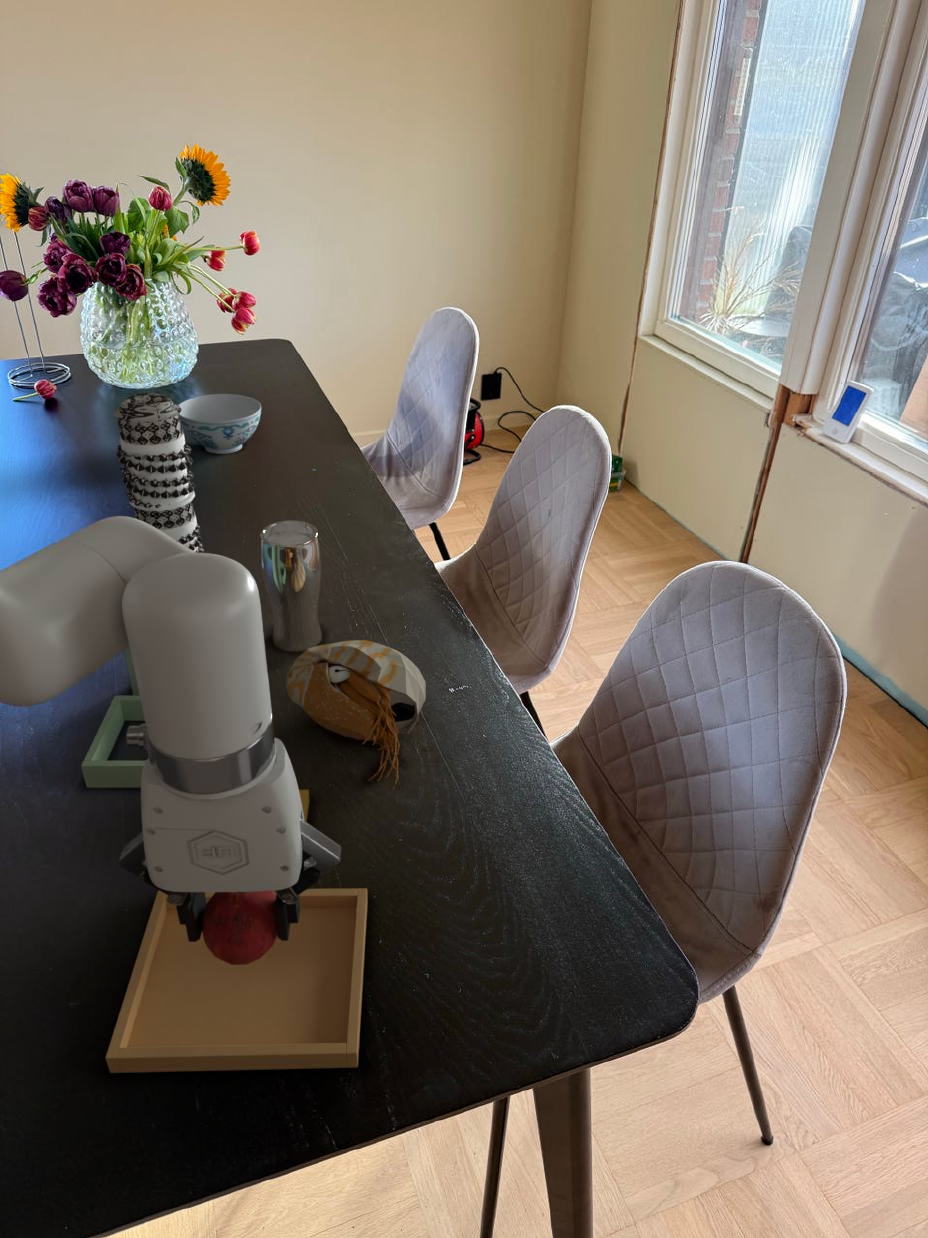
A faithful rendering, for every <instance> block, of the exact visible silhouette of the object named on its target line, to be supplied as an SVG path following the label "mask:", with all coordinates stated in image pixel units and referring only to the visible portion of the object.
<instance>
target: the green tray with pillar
mask: <svg viewBox="0 0 928 1238" xmlns="http://www.w3.org/2000/svg"><path fill="white" fill-rule="evenodd" d="M123 653H124V659H125V663H126V668H127V673H128V677H129V682H130V686H131V691H132V695H114V697H113V699H112V700H111V703H110V705H109V707H108V708H107V711H106V713H105V716H104V717H103V719H102V722H101V724H100V725H99V728H98V730H97V732H96V734H95V736H94V738H93V740H92V742H91V745H90V747H89V748H88V751H87V753H86V755H85V756H84V758H83V761H82V763H81V765H80V767H81V771H82V775H83V778H84V779H83V780H84V782H85V786H86V788H88V789H90V788H94V789H95V788H96V789H97V788H99V789H100V788H101V789H103V788H105V789H107V788H110V789H111V788H120V789H121V788H122V789H123V788H125V789H126V788H127V789H128V788H129V789H130V788H141V777H142V769H143V766H144V764H145V762H146V761H147V760H109V757H110V755H111V753H112V750H113V748H114V746H115V744H116V741H117V739H118V737H119V735H120V732H121V730H122V728H123V726H124V723H125V722H126V721H131V722H132V721H135V722H136V721H139V722H141V721H143V722H145V719H144V714H143V709H142V704H141V699H140V694H139V689H138V684H137V680H136V675H135V670H134V666H133V661H132V657H131V652H130V648H128V649H126V650H123Z"/></svg>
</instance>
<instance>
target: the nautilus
mask: <svg viewBox="0 0 928 1238" xmlns="http://www.w3.org/2000/svg"><path fill="white" fill-rule="evenodd" d="M285 683H286V684H285V685H286V692H287V695H288V697H289V698H290V700H291V701H292V702H293V703H294V704H296V705H297V706H299V707H301V709H302V710H303V711H305V713H306V714H307V716H309V717H310V718H311V719H312V720H313V721H314V722H315V723H316V724H318V725H319V726H321V727H323V728H324V729H325V730H328V731H330V732H333V733H335V734H338V735H340V736H343V737H345V738H351V739H355V740H358V741H360V740H361V741H363V742H362V743H361V745H364V744H365V743H366V742H368V741H373V743H372V746H374V745H375V744H376V745H379V746H380V747H379V748H378V749H377V751H381V753H380V763H379V766H378V769H377V771H376V773H374V774H373V776H371V777H370V778H369V779H367V782H369V781H371V780H372V779H374V778H375V777H377V776H378V775H379V773H380V772H381V773H380V775H379V778H378V779H377V782H379V781H380V780H381V779H382V777H383V774H384V772H385V770H386V767H387V763H388V761H389V764H390V766H391V767H390V768H389V770H388V772H387V774H386V775H385V778H388V777H389V776H390V773H391V772H392V770H394V772H395V779H394V783H393V787H392V790H394V789H395V787H396V784H397V781H398V779H400V776H399V763H400V762H399V758H398V755H399V757H401V754H400V752H399V750H400V744H401V743H400V741H399V738H398V736H399V735H409V734H411V732H412V730H413V729H414V728H415V726H416V725H417V724H418V720H419V713H420V712H421V709H422V708H423V706H424V703H425V701H426V700H427V696H426V695H427V694H426V693H427V692H426V691H427V688H426V680H425V678H424V677H423V674H422V673H421V671H420V669H419V667H418V666H416V665H415V664H414V663H413V662H412V661H411V660H410V658H408V657H407V656H406V655H405V654H403V653H402V652H400V651H399V650H396V649H394V648H392V647H391V646H390V647H389V646H386V645H384V644H381V643H378V642H374V641H370V640H368V639H363V640H361V639H357V640H356V639H355V640H344V641H338V642H334V643H327V644H321V645H316V646H315V647H312V648H308V649H307V650H305V651H302V653H301V654H300V655H299V656H298V657H297V658H296V659H295V660H294V661H293V663H292V665H291V667H290V669H289V670H288V672H287V676H286V681H285ZM385 752H386V754H385V758H384V753H385ZM391 755H392V757H391ZM383 760H384V761H383Z"/></svg>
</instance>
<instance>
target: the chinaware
mask: <svg viewBox="0 0 928 1238" xmlns="http://www.w3.org/2000/svg"><path fill="white" fill-rule="evenodd" d="M177 405H178V406H180V408H181V410H182V411H181V412H180V413H179V414H180V420H181V428H182V429H183V431H185V433H186V434H187V435H188V436H189V437H190V438H191V439H192V440H194V441H195V442H196V443H197V444H199V445H201V446H202V447H203V446H204V450H205V451H206V452H209V453H212V454H219V455H225V454H226V455H227V454H231V453H235V452H238V451H240V450H241V449H242V448H243V444H244V443H246V442H247V441H248V440H249V439H250V438H251V437H252V436H253V435H254V433H255V432H256V430H257V428H258V425H259V423H260V420H261V415H262V404H261V403H260V401H258V400H257V399H256V398H253V397H251V396H246V395H241V394H234V393H214V394H204V395H199V396H194V397H191V398H188V399H186V400H184V401H182V402H180V403H178V404H177Z"/></svg>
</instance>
